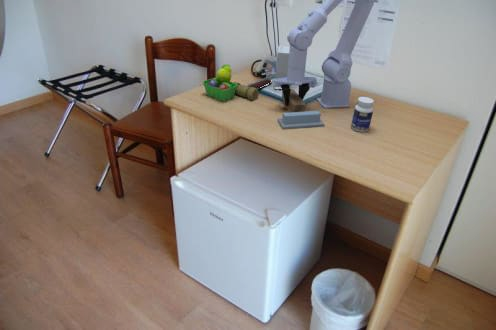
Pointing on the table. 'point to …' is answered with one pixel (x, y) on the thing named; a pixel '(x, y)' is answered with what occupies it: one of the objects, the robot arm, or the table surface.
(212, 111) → the table surface
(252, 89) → the gavel
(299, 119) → the fulcrum
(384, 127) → the table surface
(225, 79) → the fruit basket
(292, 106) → the walnut bar
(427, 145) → the table surface
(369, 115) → the pill bottle
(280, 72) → the skincare box
